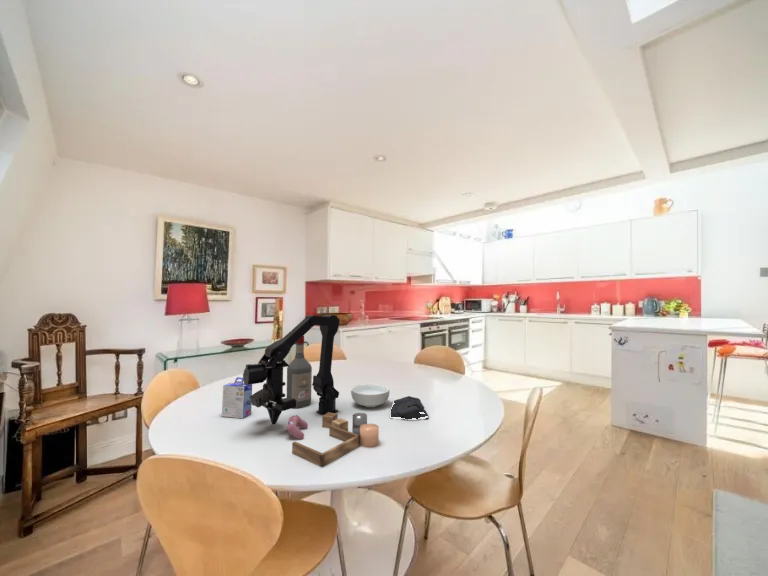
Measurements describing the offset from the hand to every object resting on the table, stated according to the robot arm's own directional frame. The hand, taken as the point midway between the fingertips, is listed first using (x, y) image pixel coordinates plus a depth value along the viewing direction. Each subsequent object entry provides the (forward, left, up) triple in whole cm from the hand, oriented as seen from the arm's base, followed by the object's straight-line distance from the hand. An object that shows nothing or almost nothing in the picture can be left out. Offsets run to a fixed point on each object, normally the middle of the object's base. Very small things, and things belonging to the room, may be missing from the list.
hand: (273, 424), depth 111 cm
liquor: (-21, -13, -1) cm, 25 cm away
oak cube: (-11, +22, -1) cm, 25 cm away
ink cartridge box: (+2, -22, -1) cm, 22 cm away
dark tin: (-14, +28, -1) cm, 32 cm away
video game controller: (-1, +11, -1) cm, 12 cm away
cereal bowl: (-40, +12, -1) cm, 42 cm away
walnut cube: (-13, +15, -1) cm, 20 cm away
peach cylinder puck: (-11, +35, -1) cm, 37 cm away
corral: (0, +28, -1) cm, 28 cm away
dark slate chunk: (-44, +29, -2) cm, 53 cm away
